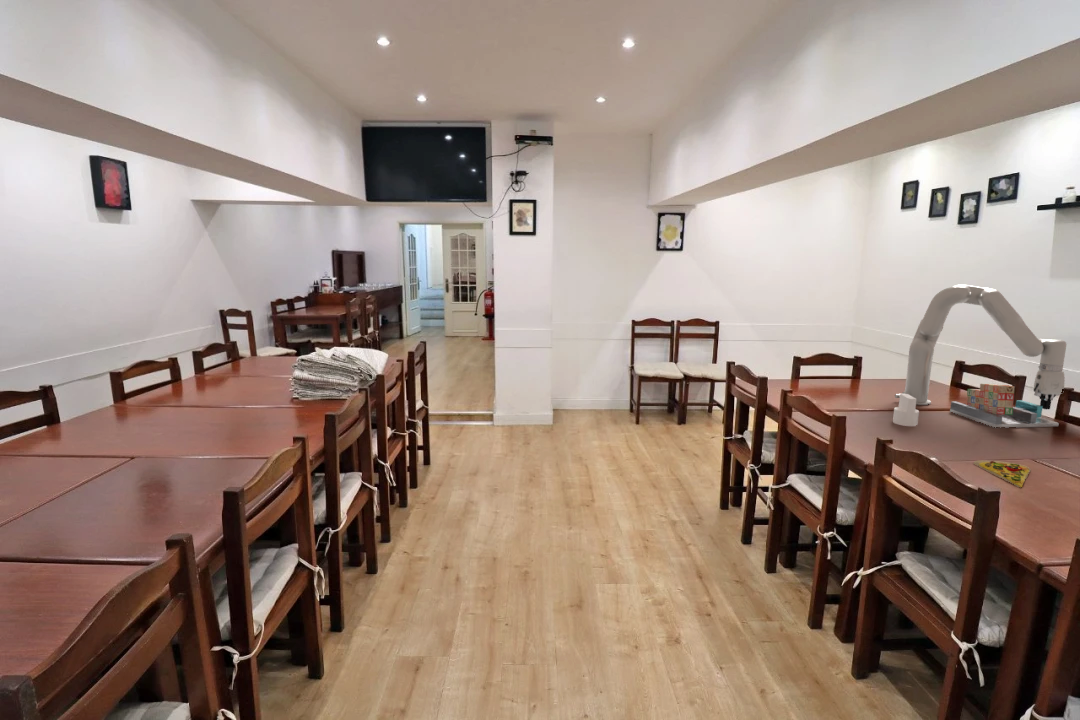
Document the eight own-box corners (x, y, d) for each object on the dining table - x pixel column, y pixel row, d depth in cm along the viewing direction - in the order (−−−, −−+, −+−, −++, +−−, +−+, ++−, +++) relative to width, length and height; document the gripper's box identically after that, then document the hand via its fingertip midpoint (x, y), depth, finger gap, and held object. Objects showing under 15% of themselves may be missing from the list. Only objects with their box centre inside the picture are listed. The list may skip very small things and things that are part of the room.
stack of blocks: (966, 409, 253) (967, 382, 253) (981, 409, 252) (982, 382, 252) (996, 414, 232) (998, 385, 232) (1013, 415, 231) (1014, 385, 231)
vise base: (995, 428, 231) (997, 416, 230) (949, 412, 254) (951, 401, 253) (1058, 426, 232) (1060, 414, 231) (1007, 410, 256) (1009, 400, 255)
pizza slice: (1027, 470, 187) (1029, 462, 187) (1051, 494, 169) (1053, 485, 168) (971, 463, 194) (972, 455, 193) (988, 486, 176) (990, 477, 175)
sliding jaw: (1030, 422, 231) (1032, 411, 230) (981, 407, 255) (983, 396, 254) (1056, 422, 232) (1058, 410, 231) (1005, 406, 255) (1007, 396, 254)
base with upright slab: (921, 426, 233) (924, 399, 231) (897, 425, 235) (901, 398, 233) (911, 420, 242) (915, 394, 240) (889, 419, 244) (892, 393, 241)
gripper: (1042, 370, 236) (1036, 411, 239) (1075, 369, 237) (1069, 410, 240) (1026, 366, 243) (1020, 407, 247) (1058, 365, 244) (1052, 405, 247)
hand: (1044, 408), depth 243 cm, fingers closed
